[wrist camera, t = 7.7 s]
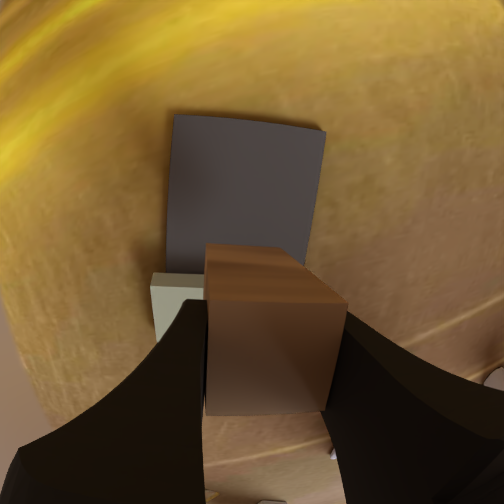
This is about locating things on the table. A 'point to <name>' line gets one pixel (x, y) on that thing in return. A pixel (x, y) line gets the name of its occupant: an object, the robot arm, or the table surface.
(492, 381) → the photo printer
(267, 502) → the skincare box
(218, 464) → the table surface
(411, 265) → the table surface
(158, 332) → the sage tile
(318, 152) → the mat
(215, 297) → the oak push block
